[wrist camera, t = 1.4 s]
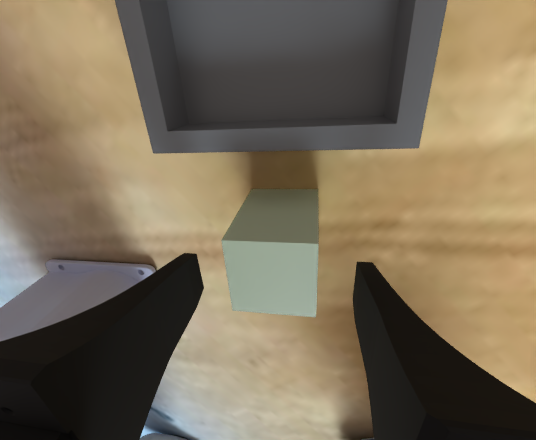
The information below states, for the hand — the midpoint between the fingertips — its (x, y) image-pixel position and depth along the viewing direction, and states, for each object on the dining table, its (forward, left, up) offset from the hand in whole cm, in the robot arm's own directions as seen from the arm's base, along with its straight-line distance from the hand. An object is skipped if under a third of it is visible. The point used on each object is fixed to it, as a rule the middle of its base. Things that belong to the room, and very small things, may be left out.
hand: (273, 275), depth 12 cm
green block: (0, 0, -6) cm, 6 cm away
